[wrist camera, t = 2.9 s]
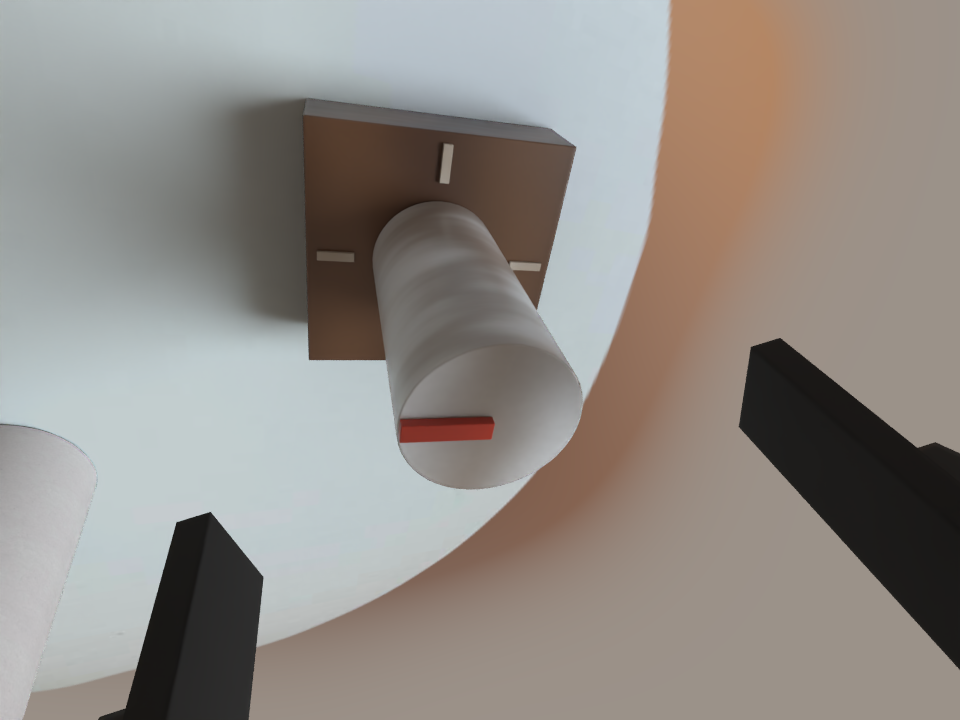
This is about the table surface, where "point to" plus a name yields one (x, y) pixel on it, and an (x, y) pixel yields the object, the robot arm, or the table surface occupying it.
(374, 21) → the table surface
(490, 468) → the tap knob
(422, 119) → the panel
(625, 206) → the table surface
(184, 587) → the robot arm
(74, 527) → the coffee cup
